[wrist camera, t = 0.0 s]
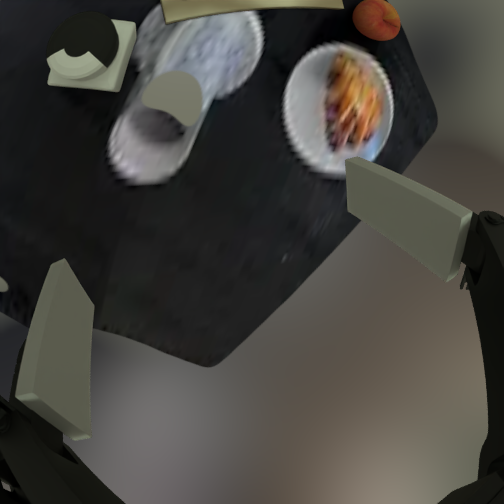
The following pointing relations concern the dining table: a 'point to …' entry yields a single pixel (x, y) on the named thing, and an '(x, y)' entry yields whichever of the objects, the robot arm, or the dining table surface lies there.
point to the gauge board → (234, 7)
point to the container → (90, 52)
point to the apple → (376, 19)
